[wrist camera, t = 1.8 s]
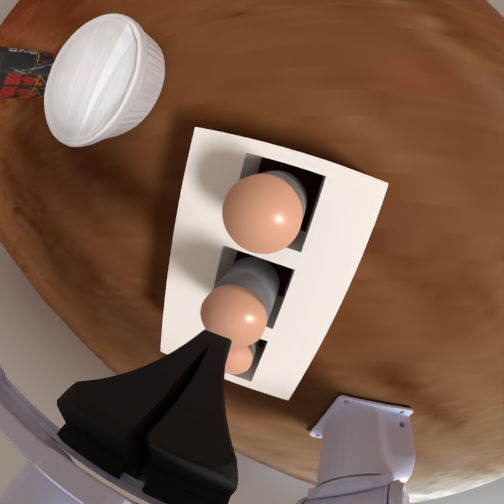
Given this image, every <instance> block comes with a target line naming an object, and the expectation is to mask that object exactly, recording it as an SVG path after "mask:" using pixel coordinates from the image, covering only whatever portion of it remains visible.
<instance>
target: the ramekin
mask: <svg viewBox="0 0 504 504" xmlns="http://www.w3.org/2000/svg"><path fill="white" fill-rule="evenodd" d="M164 76H165V61H164V56H163V54H162V51H161V49H160V48H159V46H158V44H157V43H156V42H155V41H154V40H153V39H152V38H151V37H149V36H148V35H147V34H146V33H145V32H144V31H143V29H142V28H141V26H140V25H139V24H138V23H137V22H136V21H134V20H133V19H131V18H130V17H127V16H125V15H122V14H106V15H102V16H99V17H97V18H95V19H93V20H91V21H89V22H88V23H86V24H85V25H83V26H82V27H81V28H79V29H78V30H77V31H76V32H75V33H74V34H73V35H72V36H71V37H70V38H69V39H68V41H67V42H66V43H65V44H64V46H63V47H62V49H61V50H60V52H59V54H58V55H57V57H56V59H55V61H54V63H53V66H52V68H51V71H50V74H49V77H48V80H47V84H46V88H45V94H44V109H45V115H46V120H47V123H48V126H49V128H50V130H51V132H52V134H53V135H54V136H55V138H56V139H57V140H59V141H60V142H61V143H63V144H65V145H67V146H70V147H82V146H88V145H92V144H95V143H97V142H99V141H101V140H103V139H107V138H110V137H114V136H118V135H120V134H123V133H125V132H127V131H129V130H131V129H132V128H133V127H135V126H137V125H138V124H139V123H140V122H141V121H142V120H143V119H144V118H145V117H146V116H147V115H148V113H149V112H150V111H151V110H152V108H153V106H154V105H155V103H156V101H157V99H158V97H159V95H160V92H161V90H162V85H163V82H164Z"/></svg>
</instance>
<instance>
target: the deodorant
mask: <svg viewBox="0 0 504 504" xmlns="http://www.w3.org/2000/svg"><path fill="white" fill-rule="evenodd" d="M56 57H57V55H56V54H51V53H45V52H39V51H33V50H25V49H17V48H7V47H0V98H37V99H39V98H42V97H44V94H45V88H46V84H47V80H48V77H49V74H50V71H51V68H52V66H53V63H54V61H55V59H56Z"/></svg>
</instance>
